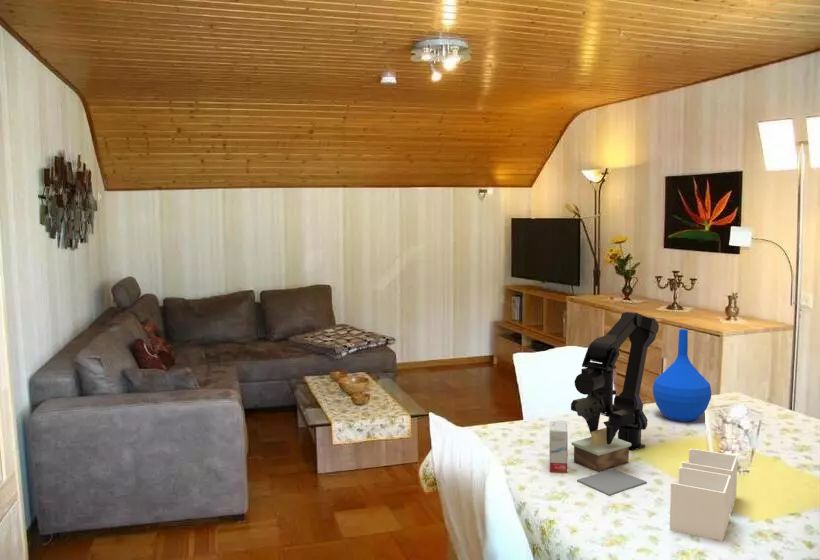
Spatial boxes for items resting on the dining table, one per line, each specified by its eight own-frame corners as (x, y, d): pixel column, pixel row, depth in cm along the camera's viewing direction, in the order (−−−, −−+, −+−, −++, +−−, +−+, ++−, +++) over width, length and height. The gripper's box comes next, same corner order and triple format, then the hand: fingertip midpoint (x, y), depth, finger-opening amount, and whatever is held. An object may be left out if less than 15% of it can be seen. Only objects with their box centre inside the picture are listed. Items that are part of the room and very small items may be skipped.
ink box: (567, 473, 189) (568, 431, 187) (549, 472, 190) (549, 430, 188) (566, 461, 197) (567, 421, 196) (549, 460, 198) (549, 420, 197)
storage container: (723, 542, 150) (724, 493, 149) (669, 530, 156) (671, 483, 155) (736, 498, 172) (737, 455, 171) (688, 489, 177) (690, 448, 176)
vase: (657, 424, 228) (659, 334, 224) (647, 408, 246) (649, 324, 242) (716, 426, 225) (720, 335, 221) (702, 410, 243) (705, 325, 239)
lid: (603, 438, 203) (604, 421, 202) (631, 448, 195) (631, 431, 194) (571, 447, 196) (571, 430, 196) (598, 458, 188) (598, 440, 187)
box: (603, 453, 203) (604, 436, 202) (628, 463, 195) (628, 445, 195) (573, 462, 197) (574, 445, 196) (598, 472, 189) (598, 454, 188)
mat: (613, 469, 191) (613, 468, 191) (646, 483, 181) (646, 481, 181) (576, 481, 183) (576, 479, 183) (609, 495, 174) (609, 494, 174)
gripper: (556, 384, 197) (556, 437, 199) (608, 399, 181) (607, 457, 183) (585, 378, 203) (584, 430, 205) (636, 392, 187) (635, 448, 189)
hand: (601, 441), depth 195 cm, fingers open, 5 cm apart
